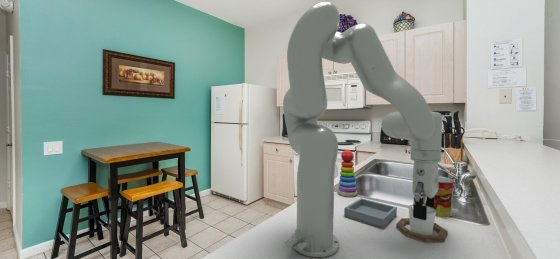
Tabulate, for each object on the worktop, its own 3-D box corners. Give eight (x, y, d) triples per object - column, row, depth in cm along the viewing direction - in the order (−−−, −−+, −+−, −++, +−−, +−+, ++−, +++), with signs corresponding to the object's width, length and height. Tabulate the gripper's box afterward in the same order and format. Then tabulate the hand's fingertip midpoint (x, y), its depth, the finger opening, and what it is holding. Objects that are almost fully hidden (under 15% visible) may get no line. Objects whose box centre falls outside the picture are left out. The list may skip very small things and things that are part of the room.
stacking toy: (355, 191, 107) (356, 149, 106) (359, 197, 100) (360, 152, 98) (336, 190, 108) (337, 148, 107) (339, 197, 100) (340, 151, 99)
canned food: (421, 207, 90) (422, 175, 89) (444, 209, 88) (446, 176, 88) (430, 216, 82) (432, 181, 81) (456, 218, 81) (458, 182, 80)
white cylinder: (421, 238, 68) (422, 214, 67) (402, 227, 74) (403, 204, 74) (440, 235, 70) (441, 211, 69) (420, 224, 76) (421, 202, 76)
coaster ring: (441, 247, 63) (442, 243, 63) (391, 231, 72) (392, 227, 71) (449, 230, 72) (449, 226, 72) (404, 218, 81) (404, 214, 81)
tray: (382, 229, 73) (383, 219, 73) (344, 216, 82) (344, 207, 81) (396, 215, 82) (396, 207, 82) (360, 205, 91) (360, 198, 91)
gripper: (434, 162, 61) (432, 227, 63) (446, 152, 74) (444, 207, 76) (402, 158, 66) (400, 219, 68) (418, 149, 79) (417, 201, 81)
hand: (423, 212), depth 72 cm, fingers open, 9 cm apart
